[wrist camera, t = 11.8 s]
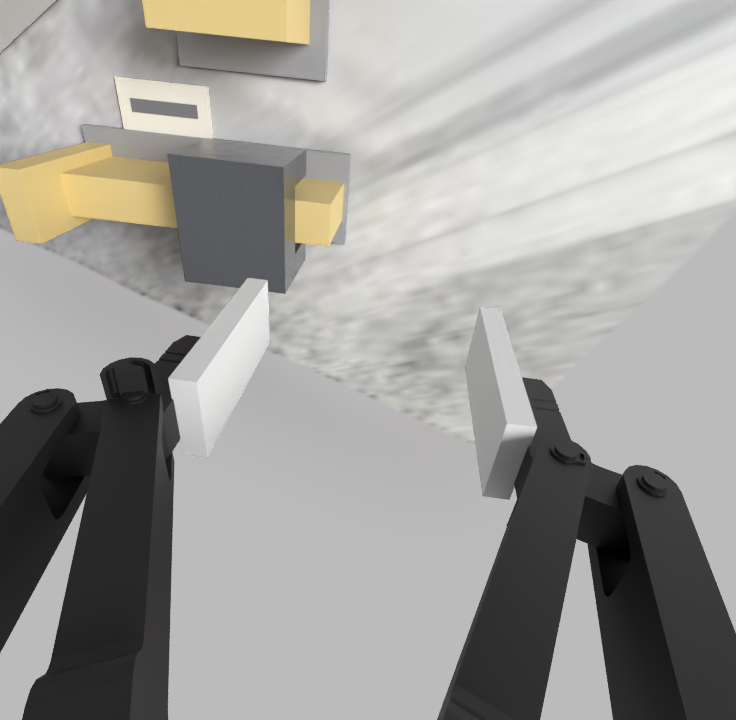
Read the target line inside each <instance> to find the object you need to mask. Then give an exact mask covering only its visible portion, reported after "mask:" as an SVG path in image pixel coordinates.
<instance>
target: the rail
mask: <svg viewBox="0 0 736 720" xmlns="http://www.w3.org/2000/svg"><path fill="white" fill-rule="evenodd" d="M81 127H82V131H83V135H84V140H85V143H82V144H78V145H74V146H70V147H66V148H62V149H58V150H54V151H50V152H46V153H43V154H39V155H35V156H31V157H27V158H23V159H19V160H15V161H11V162H7V163H3V164H0V194H1V197H2V200H3V203H4V206H5V209H6V212H7V215H8V218H9V221H10V224H11V227H12V230H13V233H14V236H15V239H16V241H22V242H30V243H38V244H43V243H45V242H47V241H49V240H51V239H53V238H55V237H57V236H59V235H61V234H63V233H65V232H67V231H69V230H71V229H73V228H75V227H77V226H79V225H81V224H83V223H85V222H87V221H89V220H92V219H103V220H111V221H119V222H128V223H136V224H145V225H153V226H161V227H170V228H178V227H177V220H176V213H175V206H174V199H173V192H172V184H171V177H170V170H169V163H168V156H167V154H168V153H171V152H173V151H176V150H178V149H181V148H184V147H186V146H189V145H192V144H194V143H197V142H200V141H202V140H205V139H208V138H199V137H190V136H182V135H173V134H164V133H155V132H146V131H137V130H128V129H124V128H116V127H107V126H98V125H89V124H84V125H81ZM248 143H249V142H248ZM257 144H258V143H257ZM350 155H351V154H346V153H337V152H329V151H320V150H311V149H307V152H306V176H305V177H304V178H303V179H302V180H301V181H300V182H299V183H298V184H297V185H296V186H295V243H303V244H312V245H320V246H328V247H329V245H330V243H336V244H345V236H346V220H347V204H348V187H349V171H350Z"/></svg>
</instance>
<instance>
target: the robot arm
mask: <svg viewBox="0 0 736 720" xmlns="http://www.w3.org/2000/svg"><path fill="white" fill-rule="evenodd" d="M269 343H270V335H269V304H268V280H262V279H254V278H247V279H246V281H245V282H244V283H243V285H242V286H241V287H240V288H239V290H238V291H237V292H236V293H235V295H234V296H233V297H232V298H231V300H230V301H229V302H228V303H227V305H226V306H225V307H224V309H223V310H222V311H221V312H220V314H219V315H218V316H217V317H216V319H215V320H214V321H213V322H212V324H211V325H210V326H209V327H208V329H207V330H206V331H205V332H204V334H203V335H202V336H201V337H196V336H189V335H186V336H184V337H182V338H181V339H179V340H177V341H175V342H173V343H172V345H171V346H170V347H169V348H168V349H167V350H166V353H164V354H163V355H162V356H161V357H160V358H159V361H157V362H156V363H155V364H154V363H152V362H151V361H150V360H147V359H143V358H126V359H121V360H118V361H115V362H113V363H110V364H109V365H108V366H106V367H105V368H103V370H102V372H101V373H100V377H101V380H102V384H103V387H104V391H105V395H106V398H107V400H104V401H95V402H84V403H77V402H76V399H75V397H74V394H73V393H72V392H70V391H68V390H65V389H58V388H57V389H46V390H43V391H39V392H36V393H33V394H31V395H29V396H27V397H25V398H24V399H23V400H22V401H20V402H19V403H18V404H17V406H16V407H15V408H14V409H13V410H12V411H11V412H10V413H9V415H8V416H7V417H6V418H5V419H4V420H3V421H2V423H1V424H0V652H1V650H2V649H3V647H4V645H5V643H6V641H7V639H8V637H9V636H10V634H11V632H12V630H13V628H14V626H15V625H16V623H17V621H18V619H19V617H20V615H21V613H22V612H23V610H24V608H25V606H26V604H27V602H28V600H29V599H30V597H31V595H32V593H33V591H34V589H35V588H36V586H37V584H38V582H39V580H40V578H41V577H42V574H43V573H44V571H45V569H46V567H47V565H48V563H49V562H50V560H51V558H52V556H53V554H54V553H55V551H56V549H57V547H58V545H59V543H60V541H61V540H62V538H63V536H64V534H65V532H66V530H67V529H68V527H69V525H70V523H71V521H72V519H73V517H74V515H75V514H76V512H77V510H78V508H79V506H80V504H81V503H82V501H83V499H84V497H85V495H86V493H87V495H86V499H85V504H84V509H83V513H82V518H81V523H80V528H79V532H78V537H77V541H76V546H75V551H74V555H73V560H72V565H71V569H70V574H69V579H68V583H67V588H66V593H65V597H64V602H63V606H62V611H61V616H60V621H59V626H58V630H57V635H56V640H55V644H54V648H53V653H52V658H51V662H50V665H49V668H48V670H47V672H46V674H45V675H43V676H41V677H40V678H38V679H36V681H35V683H34V684H33V686H32V688H31V690H30V693H29V696H28V699H27V702H26V706H25V709H24V714H23V718H22V720H168V676H169V674H168V673H169V639H170V601H171V565H172V563H171V562H172V527H173V490H174V458H173V453H172V451H173V450H174V448H175V446H176V445H177V443H178V442H179V441H180V447H181V452H182V455H189V456H196V457H204V458H208V456H209V454H210V453H211V451H212V449H213V447H214V445H215V443H216V441H217V439H218V438H219V436H220V434H221V432H222V430H223V428H224V426H225V425H226V423H227V421H228V419H229V417H230V415H231V413H232V411H233V410H234V408H235V406H236V404H237V402H238V400H239V398H240V396H241V395H242V393H243V391H244V389H245V387H246V385H247V384H248V382H249V380H250V378H251V376H252V374H253V372H254V370H255V369H256V367H257V365H258V363H259V361H260V359H261V357H262V356H263V354H264V352H265V350H266V348H267V346H268V344H269ZM465 371H466V378H467V385H468V393H469V400H470V407H471V415H472V422H473V429H474V436H475V444H476V451H477V458H478V466H479V473H480V480H481V487H482V495H483V496H487V497H494V498H502V499H510V496H511V494H512V492H513V489H514V486H515V489H516V494H517V501H516V504H515V506H514V509H513V511H512V514H511V516H510V519H509V522H508V524H507V528H506V531H505V534H504V537H503V539H502V542H501V545H500V548H499V550H498V553H497V556H496V559H495V562H494V564H493V567H492V570H491V572H490V575H489V578H488V581H487V583H486V586H485V589H484V592H483V594H482V597H481V600H480V603H479V606H478V608H477V611H476V614H475V617H474V619H473V622H472V625H471V628H470V631H469V633H468V636H467V639H466V642H465V644H464V647H463V650H462V653H461V655H460V658H459V661H458V663H457V666H456V669H455V672H454V675H453V678H452V680H451V683H450V686H449V688H448V691H447V694H446V697H445V700H444V702H443V705H442V708H441V710H440V713H439V716H438V719H437V720H540V717H541V712H542V707H543V702H544V697H545V692H546V687H547V682H548V677H549V672H550V667H551V662H552V657H553V652H554V647H555V642H556V637H557V632H558V627H559V622H560V617H561V612H562V607H563V602H564V597H565V593H566V588H567V582H568V578H569V572H570V567H571V562H572V557H573V552H574V548H575V543H576V539H578V540H580V541H583V542H585V543H588V549H589V557H590V564H591V571H592V578H593V585H594V591H595V598H596V605H597V612H598V619H599V626H600V632H601V639H602V646H603V653H604V660H605V667H606V674H607V681H608V687H609V694H610V700H611V708H612V714H613V720H736V633H735V630H734V628H733V625H732V623H731V620H730V618H729V615H728V612H727V609H726V607H725V604H724V602H723V599H722V597H721V594H720V591H719V589H718V586H717V583H716V581H715V578H714V576H713V573H712V571H711V568H710V565H709V563H708V560H707V558H706V555H705V552H704V550H703V547H702V545H701V542H700V539H699V537H698V534H697V531H696V529H695V526H694V524H693V521H692V518H691V516H690V513H689V511H688V508H687V506H686V503H685V500H684V498H683V495H682V493H681V491H680V489H679V487H678V486H677V484H676V483H675V482H674V481H672V480H671V479H670V478H669V477H668V476H667V475H665V474H663V473H662V472H660V471H658V470H656V469H653V468H650V467H647V466H641V465H634V466H630V467H628V468H627V469H626V470H625V472H624V473H623V475H621V474H618V473H616V472H613V471H610V470H607V469H604V468H602V467H599V466H597V465H595V464H593V463H591V460H590V456H589V455H588V453H587V452H586V450H584V449H583V448H582V447H581V446H579V444H577V443H575V442H573V441H571V439H570V436H569V434H568V431H567V429H566V426H565V423H564V421H563V418H562V416H561V413H560V412H559V408H558V405H557V404H556V400H555V398H554V395H553V392H552V390H551V389H550V388H549V387H548V386H547V385H546V384H545V383H544V382H543V381H542V380H537V379H530V378H522V377H521V373H520V370H519V367H518V364H517V360H516V357H515V354H514V351H513V348H512V344H511V341H510V338H509V335H508V331H507V328H506V325H505V322H504V318H503V315H502V312H501V309H495V308H487V307H480V309H479V313H478V317H477V321H476V325H475V329H474V333H473V337H472V341H471V345H470V349H469V353H468V357H467V361H466V365H465Z"/></svg>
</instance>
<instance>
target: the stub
mask: <svg viewBox="0 0 736 720" xmlns="http://www.w3.org/2000/svg"><path fill="white" fill-rule="evenodd" d="M142 3H143V10H144V17H145V24H146V27H148V28H157V29H166V30H176V38H177V46H178V55H179V64H180V66H189V67H198V68H208V69H217V70H226V71H236V72H245V73H254V74H264V75H273V76H282V77H291V78H301V79H310V80H319V81H327V55H328V25H329V0H142Z"/></svg>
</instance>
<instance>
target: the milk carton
mask: <svg viewBox="0 0 736 720" xmlns="http://www.w3.org/2000/svg"><path fill="white" fill-rule="evenodd" d="M55 1H56V0H0V53H1V52H2V51H3V50H4V49H5V48H6V47H7V46H8V45H9V44H10V43H11V42H12V41H13V40H15V39H16V38H17V37H18V36H19V35H20V34H21V33H22V32H23V31H24V30H25V29H26V28H27V27H28V26H29V25H31V24H32V23H33V22H34V21H35V20H36V19H37V18H38V17H39V16H40V15H41V14H42V13H43V12H44V11H45V10H47V9H48V8H49V7H50V6H51V5H52V4H53V3H54V2H55Z"/></svg>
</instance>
